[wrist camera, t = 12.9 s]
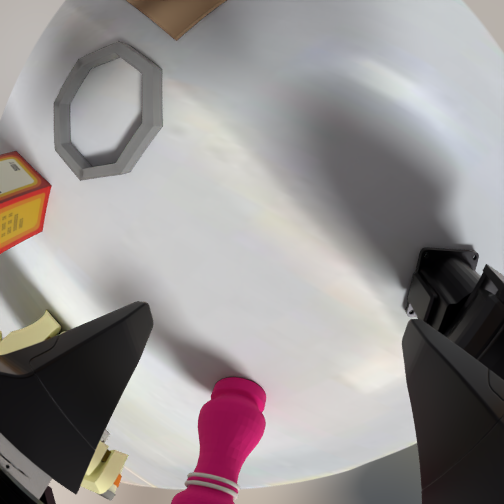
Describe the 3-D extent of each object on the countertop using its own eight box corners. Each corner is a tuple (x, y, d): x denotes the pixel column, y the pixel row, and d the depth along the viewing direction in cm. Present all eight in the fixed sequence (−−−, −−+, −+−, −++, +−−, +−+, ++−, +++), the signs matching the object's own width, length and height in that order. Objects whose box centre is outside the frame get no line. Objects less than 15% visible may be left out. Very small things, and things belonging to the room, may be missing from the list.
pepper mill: (198, 385, 30) (137, 527, 12) (240, 365, 27) (181, 543, 9) (239, 415, 31) (200, 548, 13) (283, 399, 28) (253, 558, 10)
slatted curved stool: (156, 402, 34) (106, 497, 18) (120, 418, 40) (80, 485, 24) (17, 258, 29) (-65, 316, 13) (10, 307, 35) (-47, 357, 19)
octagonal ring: (163, 34, 16) (154, 29, 15) (165, 168, 21) (156, 171, 19) (65, 72, 18) (55, 71, 17) (68, 181, 23) (58, 184, 21)
